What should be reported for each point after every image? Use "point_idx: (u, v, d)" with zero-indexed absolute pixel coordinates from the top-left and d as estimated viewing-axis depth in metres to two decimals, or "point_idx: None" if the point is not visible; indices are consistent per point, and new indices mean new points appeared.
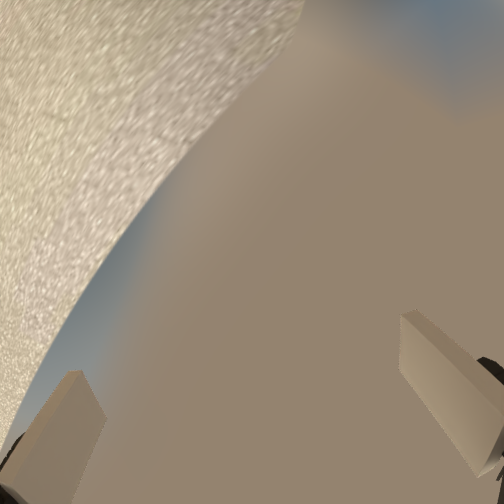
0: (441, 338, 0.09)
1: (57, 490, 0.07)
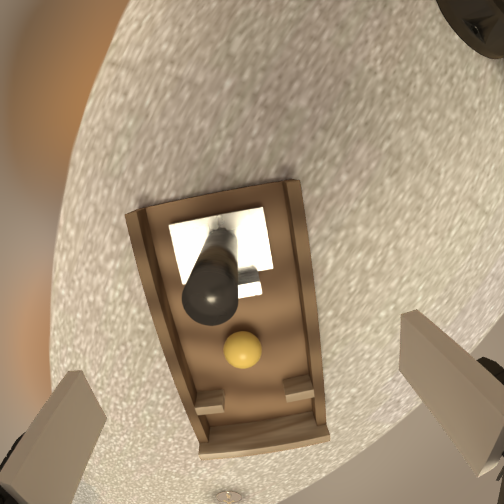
0: (441, 338, 0.09)
1: (57, 490, 0.07)
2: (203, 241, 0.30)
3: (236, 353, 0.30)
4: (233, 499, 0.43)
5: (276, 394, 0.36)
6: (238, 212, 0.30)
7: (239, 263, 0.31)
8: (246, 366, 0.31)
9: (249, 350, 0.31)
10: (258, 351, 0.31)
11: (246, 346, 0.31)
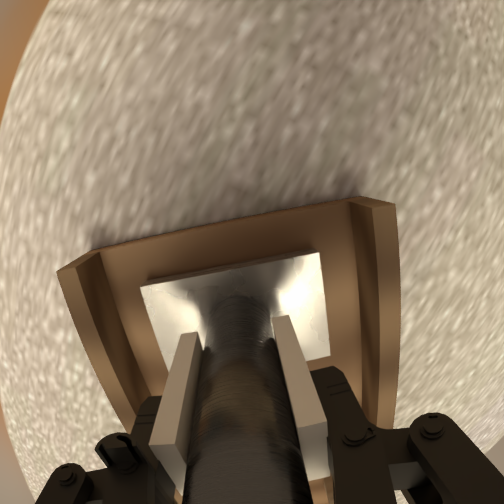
0: (290, 343, 0.11)
1: None
2: (206, 316, 0.16)
3: None
4: None
5: (313, 492, 0.22)
6: (272, 263, 0.15)
7: None
8: None
9: None
10: None
11: None
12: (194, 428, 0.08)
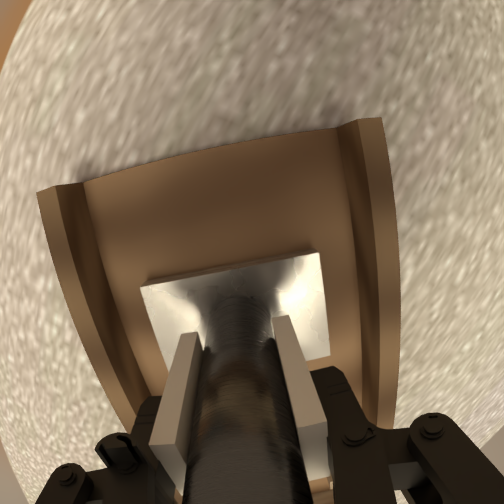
0: (290, 343, 0.11)
1: None
2: (206, 316, 0.16)
3: None
4: None
5: None
6: (272, 263, 0.15)
7: None
8: None
9: None
10: None
11: None
12: (194, 428, 0.08)
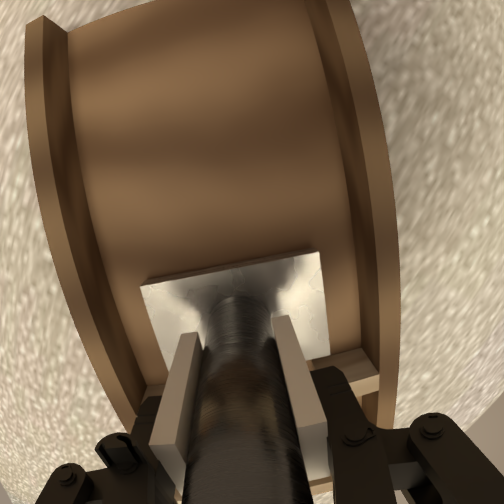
0: (290, 343, 0.11)
1: None
2: (206, 316, 0.16)
3: None
4: None
5: None
6: (272, 262, 0.15)
7: None
8: None
9: None
10: None
11: None
12: (194, 427, 0.08)
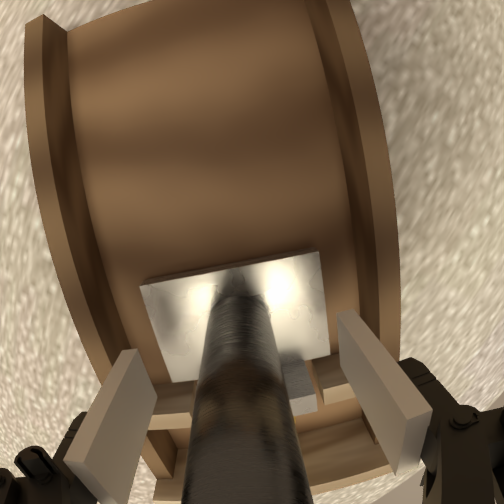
0: (366, 337, 0.10)
1: (122, 467, 0.08)
2: (206, 315, 0.16)
3: None
4: None
5: None
6: (272, 262, 0.15)
7: None
8: None
9: None
10: None
11: None
12: (193, 427, 0.08)
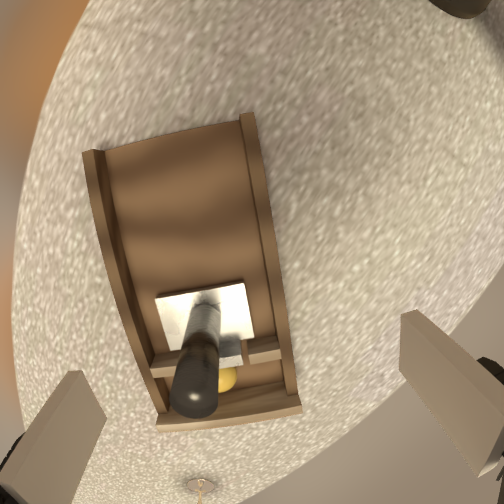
0: (441, 338, 0.09)
1: (57, 490, 0.07)
2: (188, 314, 0.31)
3: None
4: (205, 488, 0.40)
5: None
6: (220, 288, 0.31)
7: (222, 333, 0.32)
8: None
9: None
10: None
11: None
12: (180, 353, 0.23)
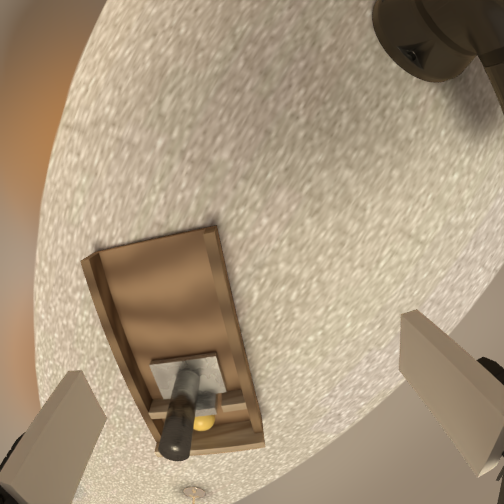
0: (441, 338, 0.09)
1: (57, 490, 0.07)
2: (175, 375, 0.39)
3: None
4: (198, 494, 0.49)
5: (218, 404, 0.42)
6: (198, 359, 0.38)
7: (202, 389, 0.39)
8: None
9: None
10: None
11: None
12: (166, 415, 0.31)
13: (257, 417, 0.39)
